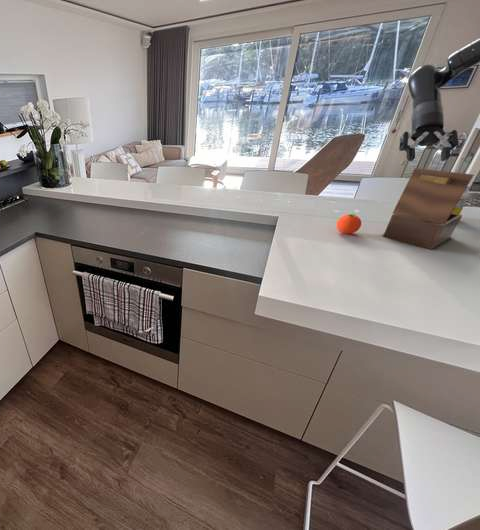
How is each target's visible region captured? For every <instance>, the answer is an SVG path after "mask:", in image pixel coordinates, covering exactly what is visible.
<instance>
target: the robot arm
mask: <svg viewBox="0 0 480 530" xmlns="http://www.w3.org/2000/svg"><path fill="white" fill-rule="evenodd" d="M479 64H480V37H479V38H477V39H474V40H473V41H471V42H470V43H468V44H466V45H464V46H463V47H461V48H459V49H458V50H456V51H454V52H452V53H451V54H450V55H449V56H448V57H447V60H446V66H444V67H443V68H442V69H438V68H437V67H436V66H435V65H433V64H429V63H428V64H423V65H421V66H419V67H417V68H416V69H415V70H414V71H412V73H411V74H410V75H409V78H408V81H407V87H408V91H409V94H410V97H411V100H412V105H411V106H412V107H411V108H412V112H411V119H410V120H411V133H409V131H405V132H403V134H402V135H401V136H400V137H399V147H398V151H399V152H403V151H404V152H405V153H406V160H407V161H408V162H413V161H414V160H415V159H416V147H417V146H419V147H425V146H426V147H427V146H428V147H432V146H433V147H434V148H435V149H438V150H439V151H440V161H441V162H446V161H447V160H448V159H449V158H451V151H453V150H454V149H455V148H457V146H459V145H460V143H459V136H458V131H457V129H453V130H451V131H445V130H444V126H445V125H444V124H445V123H444V121H445V120H444V107H443V101H442V92H441V90H440V89H441V88H443V87H444V86H445V85H447V84H448V83H450V82H452V80H453V79H455V78H456V77H458V76H459V75H460V74H462V73H463V72H464V71H466V70H469V69H470V68H473V67H474V66H476V65H479ZM409 139H410V140H412V141H413V142H412V144H411V145H410V144H409Z"/></svg>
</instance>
